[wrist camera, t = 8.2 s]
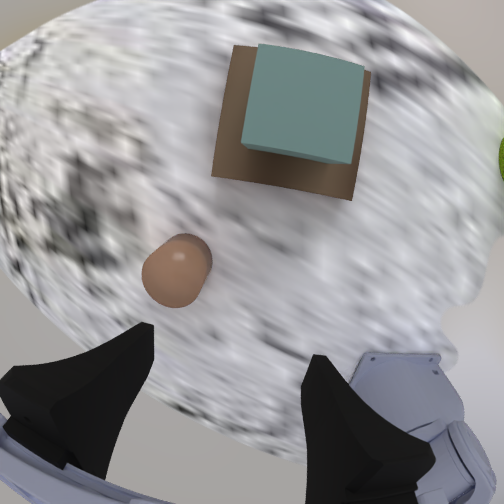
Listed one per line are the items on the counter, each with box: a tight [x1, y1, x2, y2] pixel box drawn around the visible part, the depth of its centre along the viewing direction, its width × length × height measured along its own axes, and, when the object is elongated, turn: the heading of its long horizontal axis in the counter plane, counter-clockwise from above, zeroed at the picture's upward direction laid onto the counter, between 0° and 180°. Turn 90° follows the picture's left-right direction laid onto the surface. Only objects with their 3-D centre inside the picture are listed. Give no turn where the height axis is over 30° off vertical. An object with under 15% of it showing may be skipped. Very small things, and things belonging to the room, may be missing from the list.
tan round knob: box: [142, 233, 212, 308], centre depth 19 cm, size 4×4×4 cm
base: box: [211, 45, 371, 201], centre depth 17 cm, size 9×9×2 cm
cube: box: [241, 44, 365, 164], centre depth 13 cm, size 5×5×5 cm
